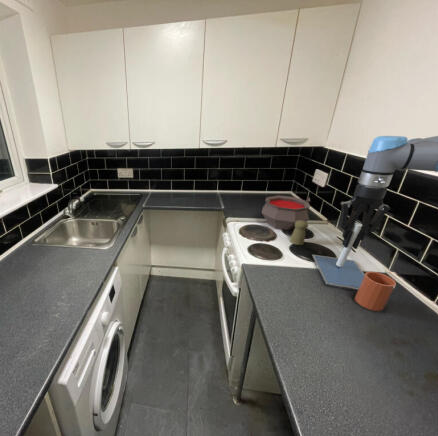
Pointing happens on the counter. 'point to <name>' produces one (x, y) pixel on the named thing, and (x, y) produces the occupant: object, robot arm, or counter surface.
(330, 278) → the tablet
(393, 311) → the counter surface
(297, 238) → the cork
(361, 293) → the pen pot
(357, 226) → the stylus
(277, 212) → the cauldron
